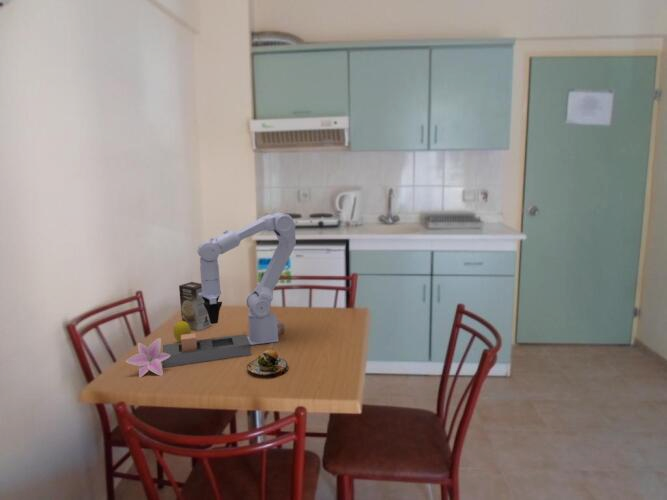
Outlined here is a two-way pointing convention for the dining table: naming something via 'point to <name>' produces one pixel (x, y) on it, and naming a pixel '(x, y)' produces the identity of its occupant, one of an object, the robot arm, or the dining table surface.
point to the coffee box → (193, 306)
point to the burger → (268, 364)
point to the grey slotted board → (207, 350)
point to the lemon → (181, 330)
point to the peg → (188, 342)
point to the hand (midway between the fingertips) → (213, 319)
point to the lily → (149, 358)
